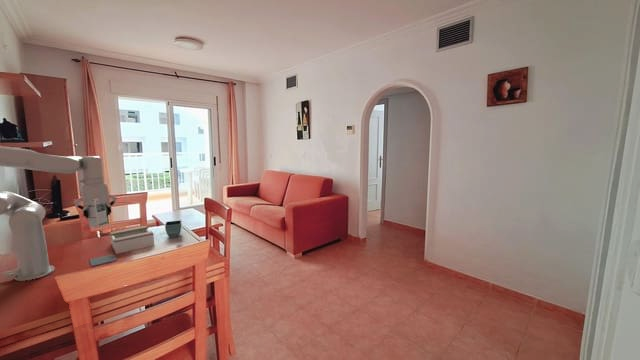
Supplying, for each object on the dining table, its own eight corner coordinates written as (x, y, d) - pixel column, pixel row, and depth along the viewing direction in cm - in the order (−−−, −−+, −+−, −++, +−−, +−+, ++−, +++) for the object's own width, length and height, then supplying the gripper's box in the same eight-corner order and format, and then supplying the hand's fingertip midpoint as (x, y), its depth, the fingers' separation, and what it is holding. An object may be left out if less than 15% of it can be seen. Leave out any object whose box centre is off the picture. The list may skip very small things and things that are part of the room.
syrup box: (98, 227, 130) (94, 198, 128) (88, 226, 131) (85, 198, 129) (109, 224, 136) (106, 196, 134) (100, 223, 137) (96, 195, 135)
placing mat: (91, 266, 130) (91, 266, 129) (89, 260, 137) (89, 259, 137) (116, 260, 136) (116, 259, 136) (114, 254, 144) (113, 253, 143)
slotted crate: (116, 253, 144) (114, 240, 143) (111, 244, 157) (110, 232, 156) (154, 245, 157) (153, 232, 156) (147, 236, 169) (146, 225, 168)
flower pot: (167, 234, 173) (166, 221, 172) (182, 233, 177) (181, 220, 176) (165, 239, 166) (164, 225, 164) (181, 237, 169) (180, 223, 168)
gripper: (70, 184, 122) (74, 221, 124) (117, 180, 134) (120, 214, 136) (69, 182, 127) (74, 217, 130) (115, 178, 139) (118, 211, 142)
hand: (98, 215), depth 133 cm, fingers closed on syrup box, 7 cm apart
